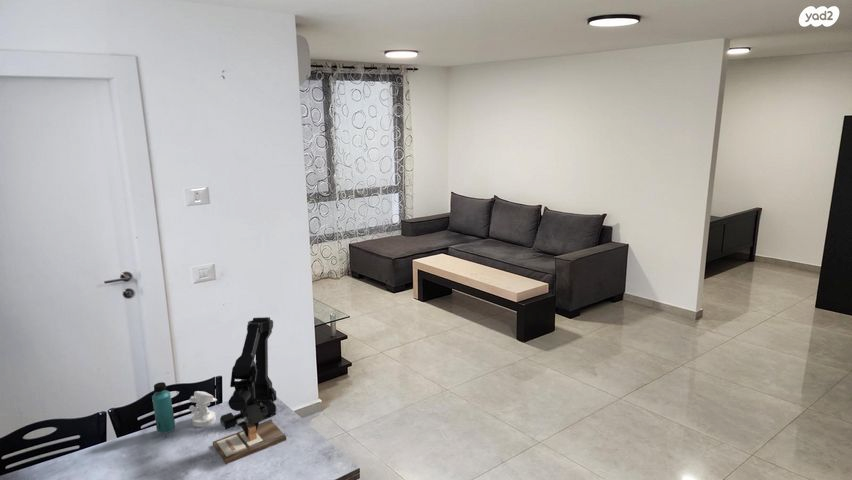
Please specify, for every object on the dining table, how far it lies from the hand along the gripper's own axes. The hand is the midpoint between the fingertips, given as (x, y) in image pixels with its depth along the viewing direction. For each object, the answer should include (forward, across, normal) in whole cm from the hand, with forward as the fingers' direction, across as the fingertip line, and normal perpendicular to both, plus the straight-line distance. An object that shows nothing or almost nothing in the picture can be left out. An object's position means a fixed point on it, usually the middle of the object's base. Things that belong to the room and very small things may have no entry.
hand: (250, 434), depth 194 cm
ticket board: (+3, -2, 0) cm, 3 cm away
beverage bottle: (+3, -23, +27) cm, 35 cm away
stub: (+1, 0, 0) cm, 1 cm away
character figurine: (+3, -9, +26) cm, 28 cm away
